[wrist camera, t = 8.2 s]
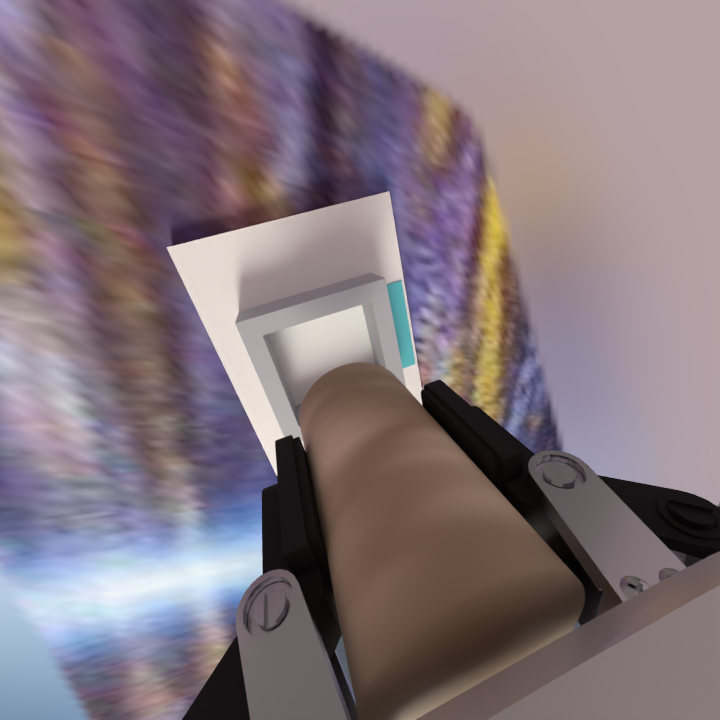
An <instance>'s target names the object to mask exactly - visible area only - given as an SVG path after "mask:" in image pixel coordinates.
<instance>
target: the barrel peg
mask: <svg viewBox="0 0 720 720" xmlns="http://www.w3.org/2000/svg"><path fill="white" fill-rule="evenodd" d="M299 421H300V428H301V433H302V438H303V443H304V448H305V452H306V456H307V461H308V466H309V470H310V475H311V480H312V485H313V490H314V495H315V500H316V505H317V510H318V515H319V520H320V525H321V530H322V535H323V540H324V545H325V549H326V554H327V559H328V566H329V573H330V578H331V583H332V588H333V593H334V598H335V603H336V608H337V613H338V618H339V623H340V628H341V633H342V638H343V643H344V648H345V653H346V658H347V663H348V668H349V673H350V678H351V683H352V688H353V693H354V698H355V703H356V708H357V713H358V718H359V720H416V719H417V718H419V717H421V716H423V715H424V714H426V713H428V712H430V711H431V710H433V709H435V708H437V707H438V706H440V705H442V704H444V703H445V702H447V701H449V700H451V699H452V698H454V697H456V696H458V695H459V694H461V693H463V692H465V691H466V690H468V689H470V688H472V687H474V686H475V685H477V684H479V683H481V682H482V681H484V680H486V679H488V678H489V677H491V676H493V675H495V674H497V673H498V672H500V671H502V670H504V669H505V668H507V667H509V666H511V665H512V664H514V663H516V662H518V661H520V660H521V659H523V658H525V657H527V656H528V655H530V654H532V653H534V652H535V651H537V650H539V649H541V648H543V647H544V646H546V645H548V644H550V643H551V642H553V641H555V640H557V639H559V638H560V637H562V636H564V635H566V634H567V633H569V632H571V631H572V629H573V628H574V626H575V624H576V623H577V621H578V619H579V617H580V615H581V612H582V610H583V606H584V602H585V589H584V587H583V584H582V582H581V581H580V580H579V579H578V578H577V577H576V576H575V575H574V574H573V572H572V571H571V570H570V569H569V568H568V567H567V566H566V565H565V564H564V562H563V561H562V560H561V559H560V558H559V557H558V556H557V555H556V554H555V552H554V551H553V550H552V549H551V548H550V547H549V546H548V545H547V544H546V542H545V541H544V540H543V539H542V538H541V537H540V536H539V535H538V534H537V532H536V531H535V530H534V529H533V528H532V527H531V526H530V525H529V524H528V522H527V521H526V520H525V519H524V518H523V517H522V516H521V515H520V514H519V512H518V511H517V510H516V509H515V508H514V507H513V506H512V505H511V504H510V502H509V501H508V500H507V499H506V498H505V497H504V496H503V495H502V494H501V492H500V491H499V490H498V489H497V488H496V487H495V486H494V485H493V484H492V482H491V481H490V480H489V479H488V478H487V477H486V476H485V475H484V474H483V472H482V471H481V470H480V469H479V468H478V467H477V466H476V465H475V464H474V462H473V461H472V460H471V459H470V458H469V457H468V456H467V455H466V454H465V452H464V451H463V450H462V449H461V448H460V447H459V446H458V445H457V444H456V442H455V441H454V440H453V439H452V438H451V437H450V436H449V435H448V434H447V432H446V431H445V430H444V429H443V428H442V427H441V426H440V425H439V424H438V422H437V421H436V420H435V419H434V418H433V417H432V416H431V415H430V414H429V412H428V411H427V410H426V409H425V408H424V407H423V406H422V405H421V404H420V402H419V401H418V400H417V399H416V398H415V397H414V396H413V395H412V394H411V392H410V391H409V390H408V389H407V388H406V387H405V386H404V385H403V384H402V382H401V381H400V380H399V379H398V378H397V377H396V376H395V375H394V374H393V373H392V372H391V371H390V370H388V369H386V368H384V367H382V366H380V365H377V364H373V363H366V362H356V363H350V364H346V365H342V366H339V367H337V368H335V369H333V370H331V371H329V372H327V373H326V374H324V375H323V376H322V377H320V378H319V379H318V380H317V381H316V382H315V383H314V384H313V385H312V386H311V388H310V389H309V391H308V392H307V394H306V395H305V397H304V399H303V402H302V405H301V408H300V414H299Z"/></svg>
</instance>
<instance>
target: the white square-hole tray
mask: <svg viewBox="0 0 720 720" xmlns="http://www.w3.org/2000/svg"><path fill="white" fill-rule="evenodd" d="M167 249H168V251H169V253H170V255H171V258H172V260H173V262H174V264H175V266H176V268H177V270H178V272H179V274H180V276H181V278H182V280H183V282H184V285H185V287H186V289H187V291H188V293H189V295H190V297H191V299H192V301H193V303H194V305H195V307H196V309H197V311H198V314H199V316H200V318H201V320H202V322H203V324H204V326H205V328H206V330H207V332H208V334H209V336H210V338H211V340H212V343H213V345H214V347H215V349H216V351H217V353H218V355H219V357H220V359H221V361H222V363H223V365H224V367H225V369H226V372H227V374H228V376H229V378H230V380H231V382H232V384H233V386H234V388H235V390H236V392H237V394H238V396H239V399H240V401H241V403H242V405H243V407H244V409H245V411H246V413H247V415H248V417H249V419H250V421H251V423H252V425H253V428H254V430H255V432H256V434H257V436H258V438H259V440H260V442H261V444H262V446H263V448H264V450H265V452H266V454H267V457H268V459H269V461H270V463H271V465H272V467H273V469H274V471H275V473H276V475H277V464H276V450H275V441H276V440H278V439H281V438H283V437H286V436H289V435H292V436H293V438H296V437H300V439H301V442H302V444H303V447H304V443H303V438H302V433H301V428H300V421H299V414H300V408H301V405H302V402H303V399H304V397H305V395H306V394H307V392H308V391H309V389H310V388H311V386H312V385H313V384H314V383H315V382H316V381H317V380H318V379H319V378H320V377H322V376H323V375H324V374H326V373H327V372H329V371H331V370H333V369H335V368H337V367H339V366H342V365H346V364H350V363H356V362H366V363H373V364H377V365H380V366H382V367H384V368H386V369H388V370H390V371H391V372H392V373H393V374H394V375H395V376H396V377H397V378H398V379H399V380H400V381H401V382H402V384H403V385H404V386H405V387H406V388H407V389H408V390H409V391H410V392H411V394H412V395H413V396H414V397H415V398H416V399H417V400H418V401H419V402H420V404H421V405H422V399H421V391H422V387H421V381H420V375H419V369H418V363H417V357H416V351H415V345H414V339H413V333H412V327H411V320H410V314H409V308H408V302H407V296H406V290H405V284H404V278H403V272H402V266H401V259H400V253H399V247H398V241H397V235H396V229H395V223H394V217H393V211H392V205H391V199H390V192H389V191H388V192H384V193H380V194H376V195H372V196H368V197H364V198H360V199H357V200H353V201H349V202H345V203H341V204H337V205H333V206H329V207H325V208H321V209H317V210H313V211H309V212H305V213H301V214H297V215H293V216H289V217H285V218H281V219H277V220H273V221H269V222H265V223H262V224H258V225H254V226H250V227H246V228H242V229H238V230H234V231H230V232H226V233H222V234H218V235H214V236H210V237H206V238H202V239H198V240H194V241H190V242H186V243H182V244H178V245H174V246H171V247H167ZM304 449H305V448H304Z"/></svg>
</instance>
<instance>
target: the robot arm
mask: <svg viewBox="0 0 720 720" xmlns="http://www.w3.org/2000/svg"><path fill="white" fill-rule="evenodd" d="M421 399H422V406H423V407H424V408H425V409H426V410H427V411H428V412H429V414H430V415H431V416H432V417H433V418H434V419H435V420H436V421H437V422H438V424H439V425H440V426H441V427H442V428H443V429H444V430H445V431H446V432H447V434H448V435H449V436H450V437H451V438H452V439H453V440H454V441H455V442H456V444H457V445H458V446H459V447H460V448H461V449H462V450H463V451H464V452H465V454H466V455H467V456H468V457H469V458H470V459H471V460H472V461H473V462H474V464H475V465H476V466H477V467H478V468H479V469H480V470H481V471H482V472H483V474H484V475H485V476H486V477H487V478H488V479H489V480H490V481H491V482H492V484H493V485H494V486H495V487H496V488H497V489H498V490H499V491H500V492H501V494H502V495H503V496H504V497H505V498H506V499H507V500H508V501H509V502H510V504H511V505H512V506H513V507H514V508H515V509H516V510H517V511H518V512H519V514H520V515H521V516H522V517H523V518H524V519H525V520H526V521H527V522H528V524H529V525H530V526H531V527H532V528H533V529H534V530H535V531H536V532H537V534H538V535H539V536H540V537H541V538H542V539H543V540H544V541H545V542H546V544H547V545H548V546H549V547H550V548H551V549H552V550H553V551H554V552H555V554H556V555H557V556H558V557H559V558H560V559H561V560H562V561H563V562H564V564H565V565H566V566H567V567H568V568H569V569H570V570H571V571H572V572H573V574H574V575H575V576H576V577H577V578H578V579H579V580H580V581H581V582H582V584H583V587H584V589H585V602H584V606H583V610H582V612H581V615H580V617H579V619H578V621H577V623H576V624H575V626H574V628H573V629H572V631H571V632H569V633H567V634H566V635H564V636H562V637H560V638H559V639H557V640H555V641H553V642H551V643H550V644H548V645H546V646H544V647H543V648H541V649H539V650H537V651H535V652H534V653H532V654H530V655H528V656H527V657H525V658H523V659H521V660H520V661H518V662H516V663H514V664H512V665H511V666H509V667H507V668H505V669H504V670H502V671H500V672H498V673H497V674H495V675H493V676H491V677H489V678H488V679H486V680H484V681H482V682H481V683H479V684H477V685H475V686H474V687H472V688H470V689H468V690H466V691H465V692H463V693H461V694H459V695H458V696H456V697H454V698H452V699H451V700H449V701H447V702H445V703H444V704H442V705H440V706H438V707H437V708H435V709H433V710H431V711H430V712H428V713H426V714H424V715H423V716H421V717H419V718H417V719H416V720H720V503H719V505H718V506H716V505H714V504H712V503H711V502H709V501H708V500H705V499H703V498H701V497H698V496H696V495H694V494H690V493H687V492H683V491H679V490H674V489H668V488H663V487H658V486H653V485H647V484H641V483H636V482H631V481H625V480H621V479H615V478H610V477H605V476H599V475H597V474H595V472H594V471H593V470H592V469H591V468H590V467H589V466H588V465H587V464H586V463H584V462H583V461H582V460H580V459H579V458H577V457H575V456H573V455H571V454H568V453H565V452H562V451H554V450H549V451H542V452H539V453H536V454H534V453H533V452H531V451H530V450H529V449H528V448H527V447H526V446H524V445H523V444H522V443H521V442H520V441H518V440H517V439H516V438H515V437H514V436H512V435H511V434H510V433H509V432H508V431H506V430H505V429H504V428H503V427H502V426H500V425H499V424H498V423H497V422H496V421H494V420H493V419H492V418H491V417H490V416H488V415H487V414H486V413H485V412H484V411H482V410H481V409H480V408H478V407H477V406H470V405H469V404H468V403H467V402H466V401H465V400H463V399H462V398H461V397H460V396H459V395H458V394H456V393H455V392H454V391H453V390H452V389H451V388H449V387H448V386H447V385H446V384H445V383H444V382H442V381H441V380H437V381H434V382H431V383H429V384H426V385H425V386H424V390H422V391H421ZM275 450H276V464H277V478H278V483H277V484H275V485H272V486H270V487H267V488H265V489H263V491H262V553H263V575H261V576H260V577H259V578H257V579H256V580H255V581H254V582H253V583H252V584H251V585H250V587H249V588H248V589H247V590H246V592H245V593H244V595H243V597H242V599H241V601H240V603H239V606H238V610H237V614H236V630H237V636H236V638H235V639H234V641H233V642H232V644H231V645H230V647H229V648H228V650H227V651H226V653H225V654H224V656H223V658H222V659H221V661H220V662H219V664H218V665H217V667H216V668H215V670H214V671H213V673H212V674H211V676H210V678H209V679H208V681H207V682H206V684H205V685H204V687H203V688H202V690H201V691H200V693H199V694H198V696H197V698H196V699H195V701H194V702H193V704H192V705H191V707H190V708H189V710H188V711H187V713H186V715H185V716H184V718H183V719H182V720H359V718H358V713H357V708H356V703H355V698H354V694H353V691H352V689H351V686H350V684H349V681H348V678H347V676H346V673H345V671H344V668H343V666H342V663H341V661H340V658H339V656H338V653H337V651H336V647H337V645H338V642H339V640H340V638H341V635H342V633H341V628H340V623H339V618H338V613H337V608H336V603H335V598H334V593H333V588H332V583H331V578H330V573H329V566H328V559H327V554H326V549H325V545H324V540H323V535H322V530H321V525H320V520H319V515H318V510H317V505H316V500H315V495H314V490H313V485H312V480H311V475H310V470H309V466H308V461H307V456H306V452H305V449H304V447H303V444H302V442H301V439H300V437H296V438H293V436H292V435H289V436H286V437H283V438H281V439H278V440H276V441H275Z"/></svg>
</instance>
